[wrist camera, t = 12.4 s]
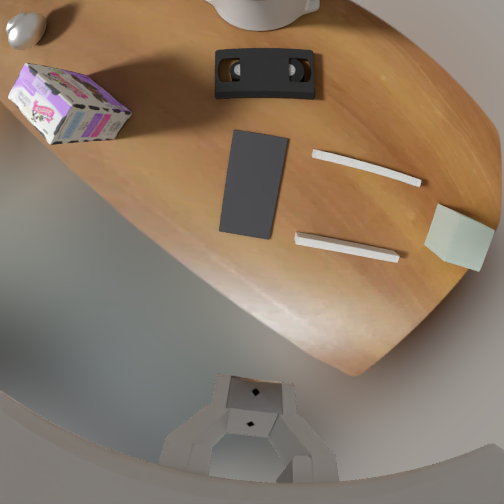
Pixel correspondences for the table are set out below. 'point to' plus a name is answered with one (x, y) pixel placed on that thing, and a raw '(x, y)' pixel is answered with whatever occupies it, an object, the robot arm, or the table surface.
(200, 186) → the table surface
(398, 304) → the table surface
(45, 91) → the candy box
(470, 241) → the sage block
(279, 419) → the robot arm
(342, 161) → the channel
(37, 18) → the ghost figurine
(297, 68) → the vhs tape
